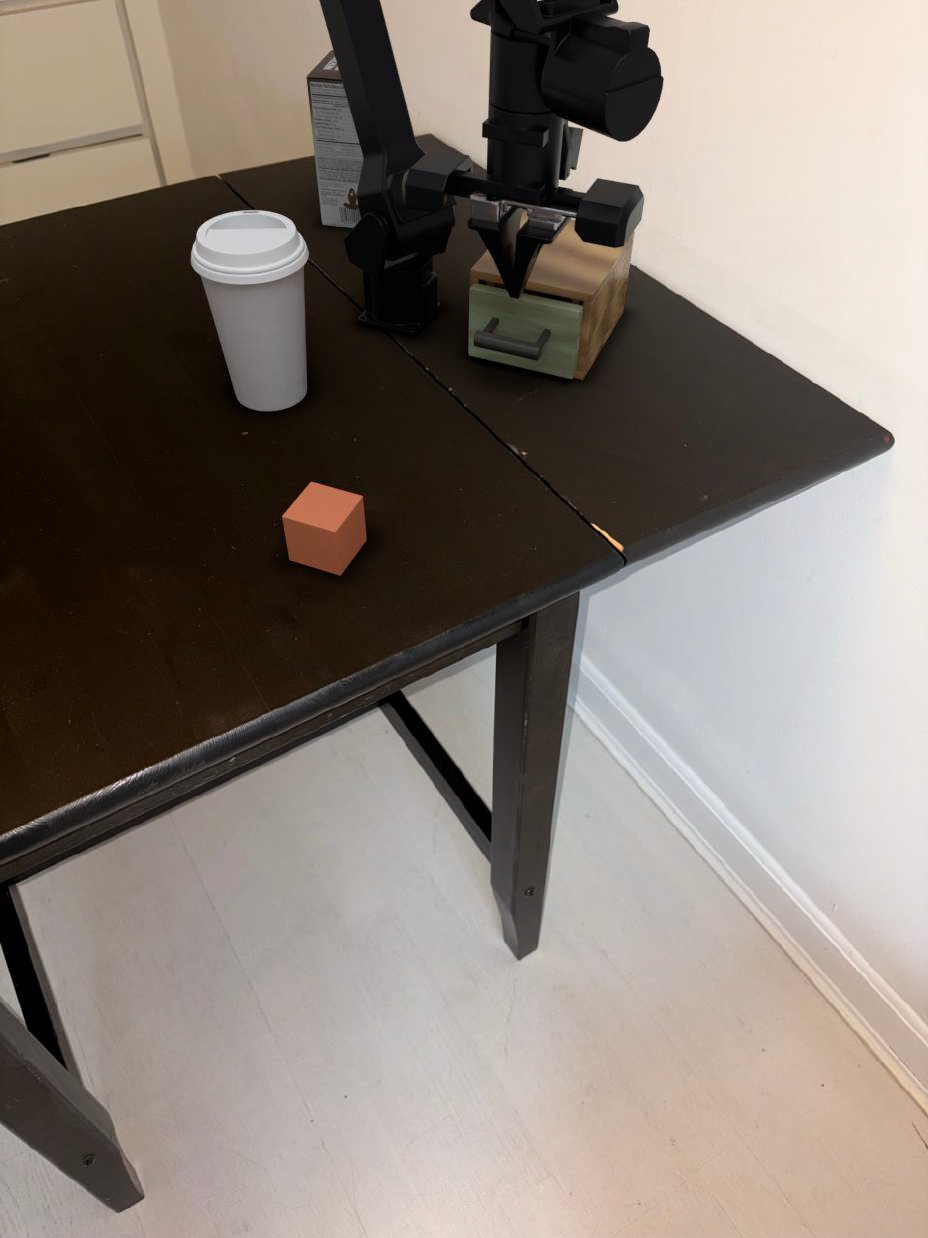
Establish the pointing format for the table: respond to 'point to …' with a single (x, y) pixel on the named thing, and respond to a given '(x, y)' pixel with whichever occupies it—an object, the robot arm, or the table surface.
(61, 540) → the table surface
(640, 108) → the robot arm
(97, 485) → the table surface
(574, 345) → the drawer
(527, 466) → the table surface
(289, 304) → the coffee cup
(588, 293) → the cabinet
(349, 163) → the coffee box
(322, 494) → the block
